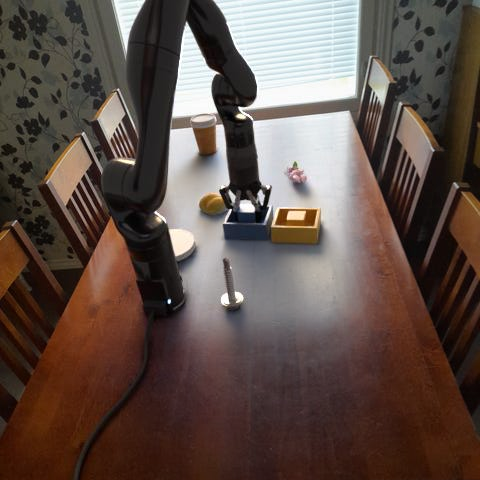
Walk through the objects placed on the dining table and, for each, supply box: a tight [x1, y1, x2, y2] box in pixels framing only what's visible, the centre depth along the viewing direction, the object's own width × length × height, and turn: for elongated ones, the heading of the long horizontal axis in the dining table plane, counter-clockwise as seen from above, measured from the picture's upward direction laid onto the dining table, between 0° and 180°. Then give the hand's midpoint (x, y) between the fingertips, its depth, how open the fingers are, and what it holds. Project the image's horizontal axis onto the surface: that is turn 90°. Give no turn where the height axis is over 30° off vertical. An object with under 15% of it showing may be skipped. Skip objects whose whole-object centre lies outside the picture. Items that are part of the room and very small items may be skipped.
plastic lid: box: [169, 228, 197, 262], centre depth 119 cm, size 14×14×2 cm
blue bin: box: [222, 204, 274, 241], centre depth 122 cm, size 10×12×4 cm
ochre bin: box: [270, 206, 322, 244], centre depth 118 cm, size 10×12×4 cm
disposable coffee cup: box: [189, 112, 218, 155], centre depth 163 cm, size 10×10×12 cm
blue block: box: [237, 203, 256, 223], centre depth 121 cm, size 4×4×4 cm
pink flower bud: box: [284, 160, 308, 184], centre depth 140 cm, size 6×6×15 cm
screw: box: [220, 257, 244, 311], centre depth 96 cm, size 13×5×5 cm
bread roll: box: [198, 192, 228, 216], centre depth 133 cm, size 8×9×4 cm
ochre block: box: [286, 211, 306, 226], centre depth 118 cm, size 4×4×4 cm
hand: (249, 222), depth 122 cm, fingers closed on blue block, 4 cm apart
